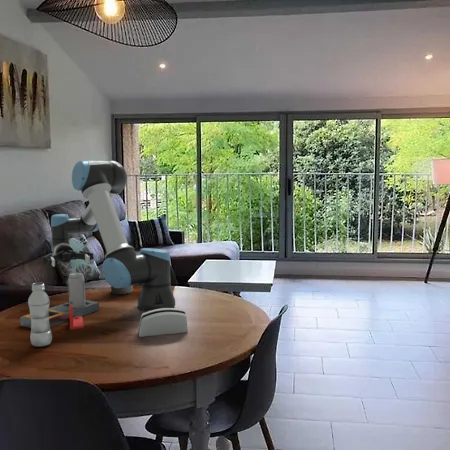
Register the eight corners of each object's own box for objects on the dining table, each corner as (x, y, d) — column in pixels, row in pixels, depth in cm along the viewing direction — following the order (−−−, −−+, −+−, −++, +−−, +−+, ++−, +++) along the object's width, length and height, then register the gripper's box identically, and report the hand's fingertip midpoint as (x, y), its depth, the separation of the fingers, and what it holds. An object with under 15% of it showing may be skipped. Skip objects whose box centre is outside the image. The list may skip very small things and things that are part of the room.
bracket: (83, 329, 182) (82, 307, 181) (70, 330, 181) (69, 308, 180) (82, 319, 194) (81, 298, 193) (69, 320, 193) (69, 299, 192)
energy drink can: (69, 310, 203) (67, 272, 201) (85, 308, 205) (83, 271, 203) (69, 314, 198) (68, 276, 196) (86, 313, 200) (84, 274, 198)
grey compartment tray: (99, 309, 204) (99, 301, 203) (41, 330, 180) (41, 321, 179) (79, 306, 209) (78, 298, 209) (20, 325, 185) (20, 316, 185)
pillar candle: (107, 294, 228) (106, 260, 226) (115, 288, 237) (115, 256, 235) (128, 295, 226) (128, 261, 224) (136, 289, 236) (135, 256, 233)
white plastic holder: (185, 327, 182) (187, 303, 178) (188, 335, 178) (189, 311, 174) (137, 332, 177) (137, 307, 173) (139, 340, 173) (139, 316, 169)
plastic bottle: (40, 350, 161) (36, 287, 158) (26, 346, 165) (22, 284, 162) (56, 344, 166) (53, 283, 164) (42, 340, 170) (39, 280, 167)
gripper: (93, 258, 233) (103, 268, 214) (34, 263, 222) (39, 273, 203) (92, 242, 232) (102, 250, 213) (33, 246, 221) (38, 255, 202)
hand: (71, 261), depth 208 cm, fingers open, 13 cm apart
